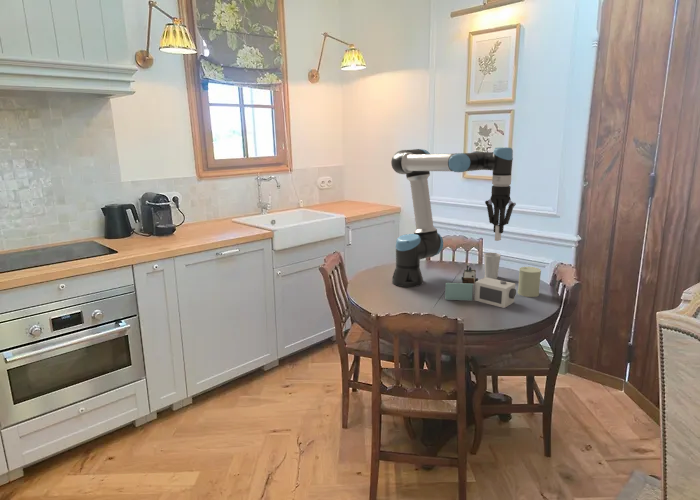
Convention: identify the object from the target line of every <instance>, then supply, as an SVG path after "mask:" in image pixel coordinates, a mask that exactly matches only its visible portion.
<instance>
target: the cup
mask: <svg viewBox="0 0 700 500" xmlns="http://www.w3.org/2000/svg"><path fill="white" fill-rule="evenodd" d="M483 259H484V277H487V278H492V279H497V280H498V277H499V268H500V262H501V253H497V252H485V253H484V255H483Z"/></svg>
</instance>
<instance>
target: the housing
mask: <svg viewBox="0 0 700 500" xmlns="http://www.w3.org/2000/svg"><path fill="white" fill-rule="evenodd" d="M516 294H517V290H516V283H514V282H509V281H506V280H500V279H498V278H497V279H492V278H487V277H485V276H484V277H483V278H480V279H478V281H476V282H475V296H474V301H477V302H480V303H483V304H486V305H492V306H495V307H500V308H503V309H505V308H506V307H507V308H508V307H509V306H510V305H513V304H514V303H515V297H516Z"/></svg>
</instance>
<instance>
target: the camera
mask: <svg viewBox="0 0 700 500" xmlns="http://www.w3.org/2000/svg"><path fill="white" fill-rule="evenodd" d="M476 271H477V270H476V269H472V267H471V266H470V263H467V264H466V268H465V269H464V270H463V273H462V276H461V280H462V282H461V283H468V284H475V282H476V281H478V280H479V278H478V277H477V276H476V275H477V272H476Z"/></svg>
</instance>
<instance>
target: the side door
mask: <svg viewBox="0 0 700 500" xmlns="http://www.w3.org/2000/svg"><path fill="white" fill-rule="evenodd" d="M474 297H475V284H468V283H462V282H445V291H444V300H452V301H475V300H474Z"/></svg>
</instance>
